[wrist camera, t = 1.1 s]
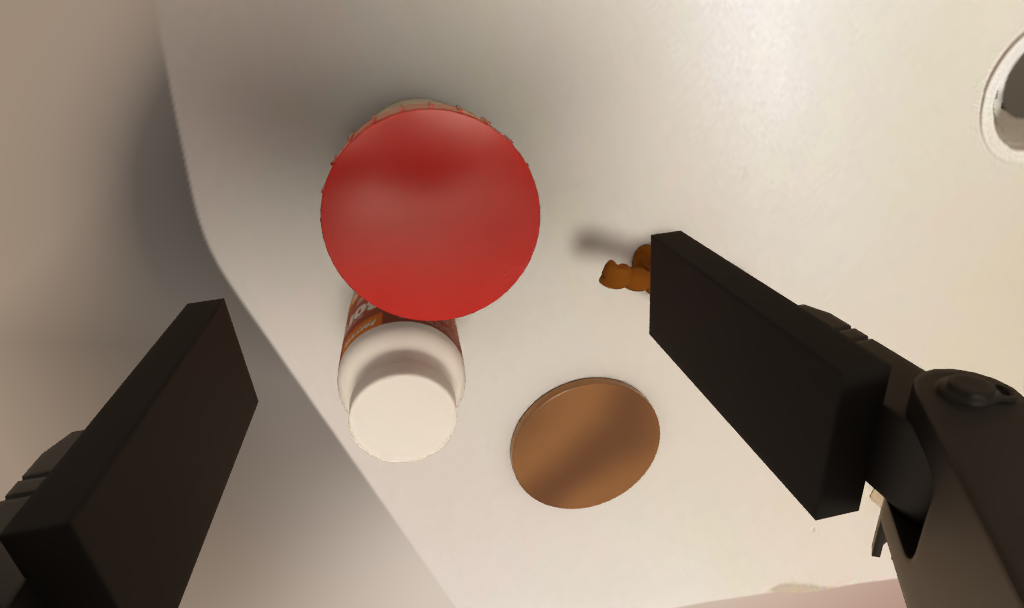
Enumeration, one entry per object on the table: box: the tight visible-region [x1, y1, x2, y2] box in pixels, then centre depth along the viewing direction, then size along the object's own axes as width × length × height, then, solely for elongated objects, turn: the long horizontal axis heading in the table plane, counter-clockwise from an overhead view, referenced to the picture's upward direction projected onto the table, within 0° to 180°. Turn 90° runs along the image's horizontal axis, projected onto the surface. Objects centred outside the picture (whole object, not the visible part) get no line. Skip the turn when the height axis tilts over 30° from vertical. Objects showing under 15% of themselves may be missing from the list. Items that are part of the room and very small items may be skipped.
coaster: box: [510, 378, 660, 509], centre depth 41 cm, size 11×11×1 cm
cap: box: [320, 101, 540, 321], centre depth 22 cm, size 8×8×2 cm
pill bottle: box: [337, 293, 465, 462], centre depth 29 cm, size 6×6×11 cm
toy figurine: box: [599, 245, 651, 294], centre depth 33 cm, size 12×4×7 cm, turn 71°
